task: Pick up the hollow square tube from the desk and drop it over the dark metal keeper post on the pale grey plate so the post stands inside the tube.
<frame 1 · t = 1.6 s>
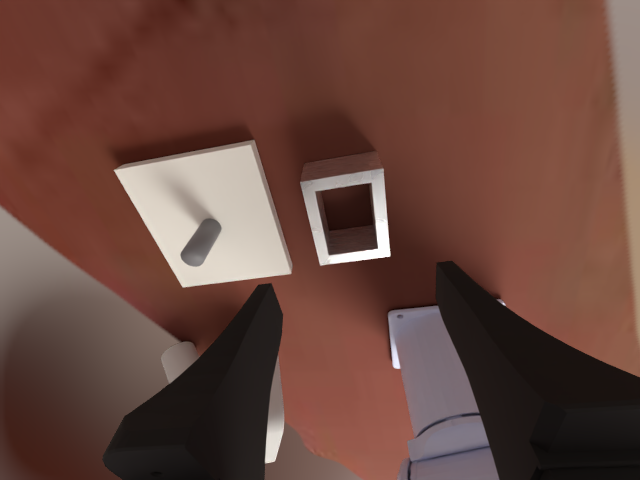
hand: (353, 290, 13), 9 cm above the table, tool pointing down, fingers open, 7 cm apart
hollow square tube: (346, 199, 21), on the table
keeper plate: (215, 219, 22), on the table
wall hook: (231, 350, 31), on the table
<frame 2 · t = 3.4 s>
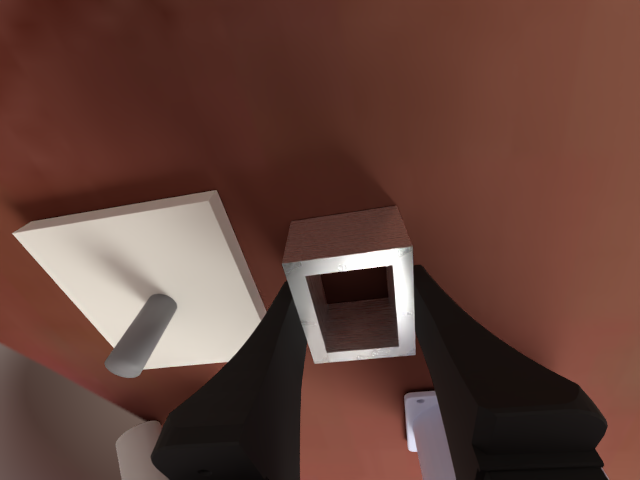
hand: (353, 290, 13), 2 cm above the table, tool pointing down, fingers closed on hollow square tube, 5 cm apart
hollow square tube: (351, 267, 15), on the table, touching gripper
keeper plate: (171, 290, 16), on the table
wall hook: (207, 427, 25), on the table
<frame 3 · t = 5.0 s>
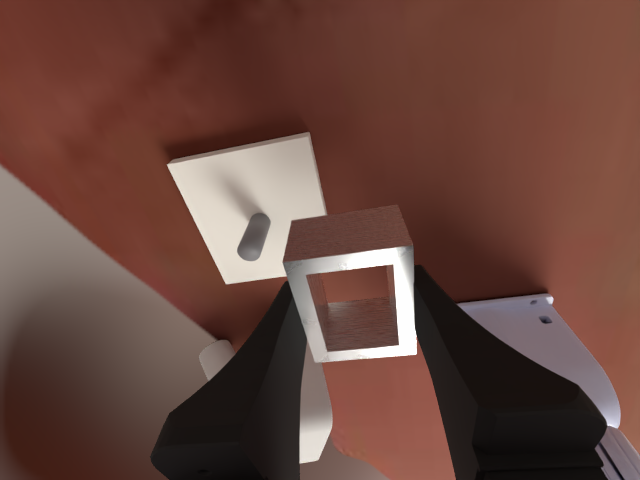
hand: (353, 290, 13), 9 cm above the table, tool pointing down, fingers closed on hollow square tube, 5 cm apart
hollow square tube: (352, 266, 15), point 7 cm above the table, touching gripper
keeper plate: (263, 214, 22), on the table
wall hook: (267, 348, 31), on the table
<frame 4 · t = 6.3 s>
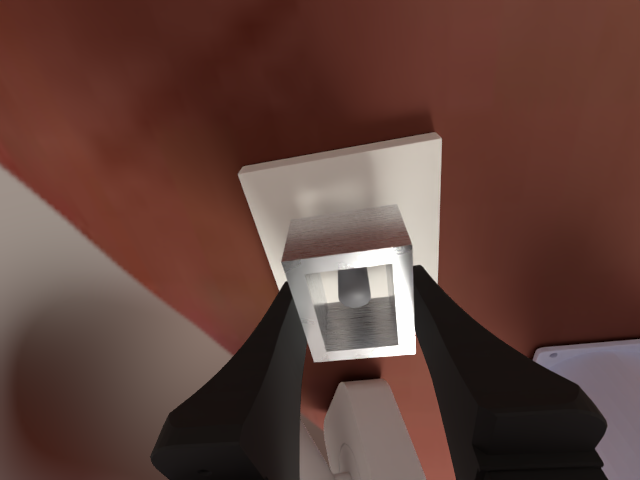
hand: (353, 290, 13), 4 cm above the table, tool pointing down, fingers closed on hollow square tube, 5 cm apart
hollow square tube: (351, 265, 15), point 3 cm above the table, touching gripper
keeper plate: (349, 238, 17), on the table
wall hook: (322, 389, 26), on the table
when the fingers open (4 cm above the table, at t = 7.1 s): hollow square tube drops 1 cm, resting on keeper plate.
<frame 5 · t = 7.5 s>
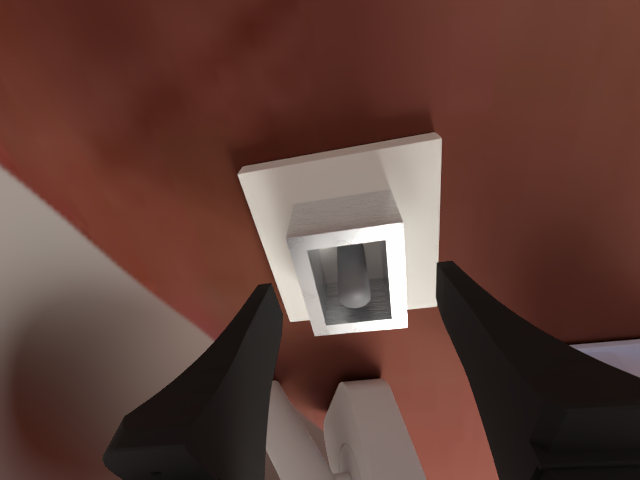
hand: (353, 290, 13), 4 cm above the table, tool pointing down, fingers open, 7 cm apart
hollow square tube: (349, 248, 16), point 1 cm above the table, touching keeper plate
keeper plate: (349, 238, 17), on the table
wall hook: (322, 389, 26), on the table
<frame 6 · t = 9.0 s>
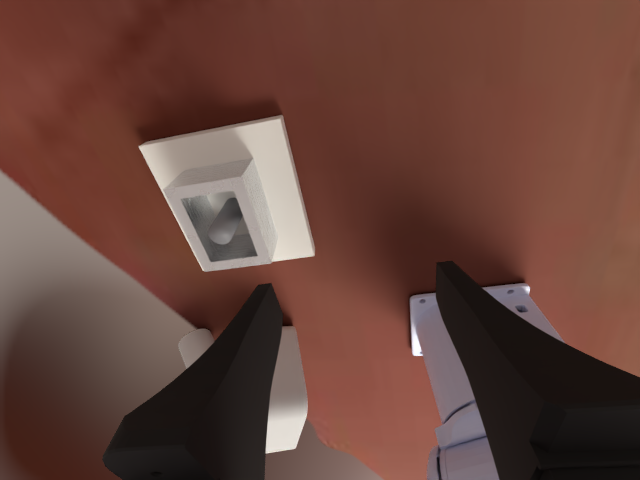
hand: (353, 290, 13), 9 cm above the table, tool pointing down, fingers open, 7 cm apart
hollow square tube: (234, 205, 21), point 1 cm above the table, touching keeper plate
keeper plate: (239, 200, 22), on the table
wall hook: (248, 338, 31), on the table
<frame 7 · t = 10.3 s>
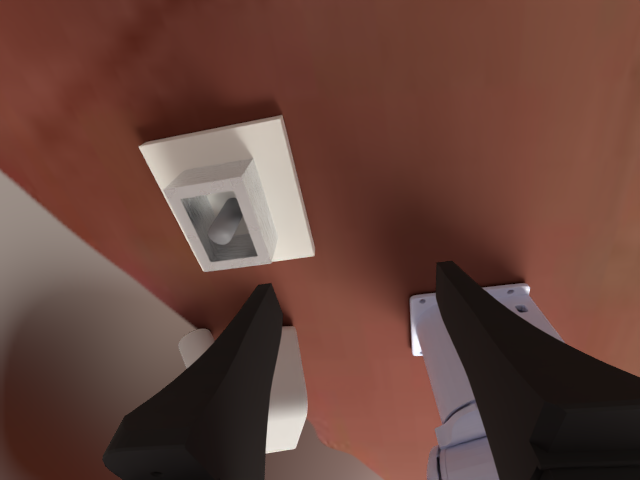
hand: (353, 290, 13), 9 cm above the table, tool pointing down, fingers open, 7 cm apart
hollow square tube: (234, 206, 21), point 1 cm above the table, touching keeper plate
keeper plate: (239, 200, 22), on the table
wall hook: (248, 338, 31), on the table
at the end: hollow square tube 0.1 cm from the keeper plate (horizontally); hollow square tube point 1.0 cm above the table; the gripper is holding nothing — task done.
